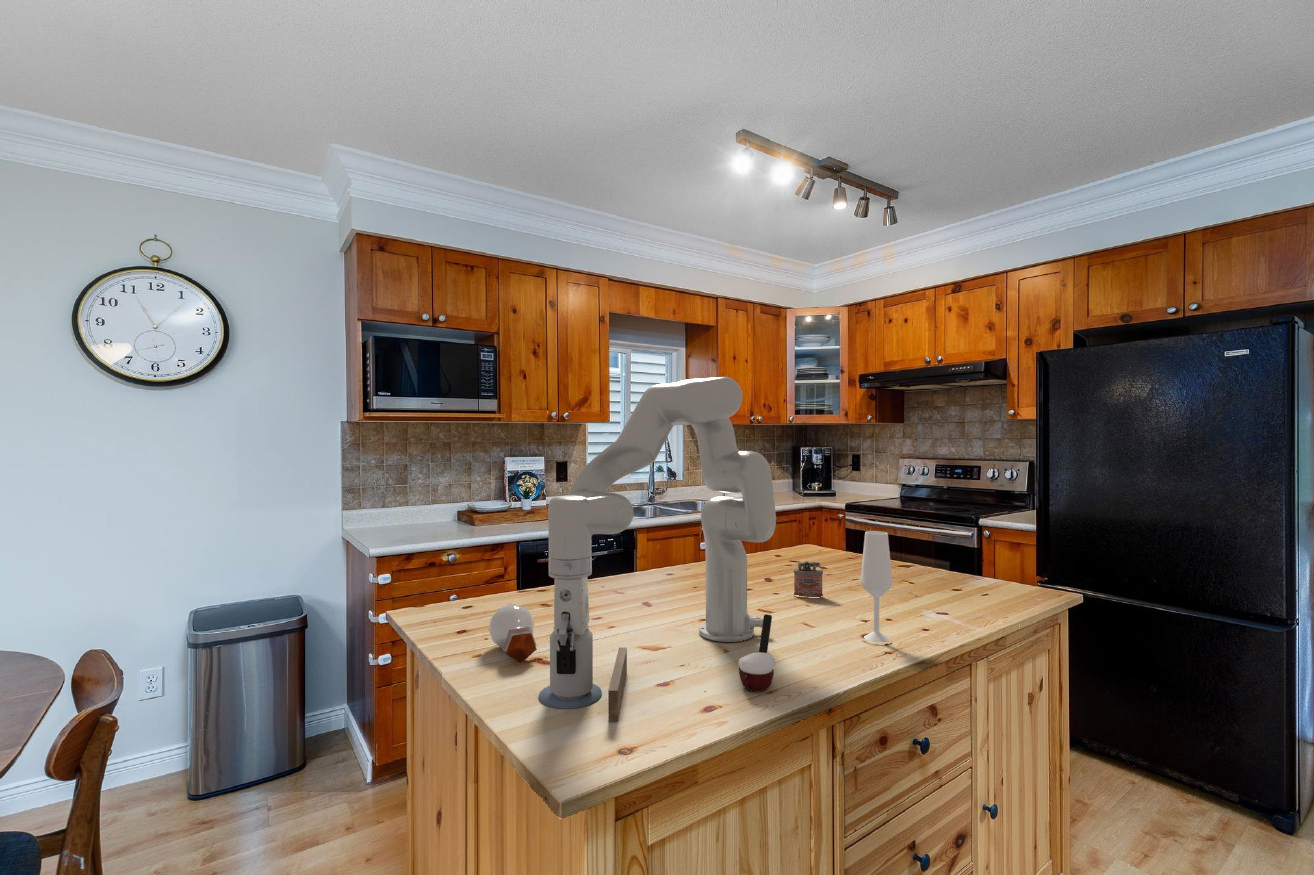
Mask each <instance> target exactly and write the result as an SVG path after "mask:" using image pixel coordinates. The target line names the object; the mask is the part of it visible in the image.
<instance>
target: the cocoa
mask: <svg viewBox="0 0 1314 875" xmlns="http://www.w3.org/2000/svg"><path fill="white" fill-rule="evenodd" d="M762 619H763V625H762V627H761V633H760V640H759V646H758V652H752V653H748V654H747V655H745V656H742V657H740V658H739V659H738V662H737V664H738V676H739V678H740V682H741V684H742V685H743V687H744V688H745V689H747V690H748V689H749V690H748V691H750V690H752V691H751V692H754V691H761V692H764V691H766V690H767V689H769V688H770V687H771V685H772V683H773V678H774V675H775V674H774V673H775V672H774V670H775V669H774V668H775V667H776V661H775V657H773V655H772V654H771V653H768V649H769V642H770V635H771V634H770V633H771V626H772V619H773V616H772V615H771V614H767V613H766V614H764V615H763V617H762Z"/></svg>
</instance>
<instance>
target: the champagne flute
mask: <svg viewBox="0 0 1314 875" xmlns="http://www.w3.org/2000/svg"><path fill="white" fill-rule="evenodd" d="M889 542H890V541H889V534H888V532H886V531H880V530H876V531H875V530H869V531H865V533H864V541H863V552H862V562H861V572H860V573H861V574H860V584H861V585H862V588H864V590H865V591H866V592H867V593H868V594H869V595H870V596H872V597H873V631H872V632H869V633H868V634H866V635H864V638H865V639H866V640H870V641H872V642H889V640H891V639H890V638H889V637H887V636H886V635H884V633H881V631H880V598H881V597H883V596H884V595H885V594H886V593H887V592H889V590H890V589H891V588H892V586H893V584H894V583H893V574H892V564H891V563H892V562H891V553H890V552H891V551H890V543H889Z"/></svg>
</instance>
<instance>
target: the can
mask: <svg viewBox="0 0 1314 875" xmlns="http://www.w3.org/2000/svg"><path fill="white" fill-rule="evenodd" d="M567 632H572V631H567ZM593 636H594V635H593V633H592V631H591V629H590V625H589V623H588V624H587V627H586V629H585V632H584V634H583V635H582V636H579V634H577V635H575V643H574V649H576V672H575V674H557V659H556V650H557V641H558V636H557V635H556V634H555V629H554V626H553V631H552V632H551V634H550V635H549V686H550V691H551V692H552V693H553V694H554V695H555V696H556V697H557V698H560V699H564V700H575V699H579V698H582V697H584V696H586V695H587V694H588V692H590V691H591V690H592V687H593V684H594V682H593V679H594V677H593V670H594V664H593V663H594V661H593V660H594V659H593V658H594V655H593V653H594V652H593V651H594V650H593V649H594V648H593V647H594V646H593V645H594V644H593V642H594V640H593V638H594V637H593ZM567 638H569V640H570V642H571V637H567Z"/></svg>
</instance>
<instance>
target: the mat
mask: <svg viewBox="0 0 1314 875" xmlns="http://www.w3.org/2000/svg"><path fill="white" fill-rule="evenodd" d="M602 692H603V691H602V688H600V686H598V685H597V684H595V683H593V687H592V690H591V691H590V692H588V694H587V695H586V696H584V697H582V698H579V699H575V700H564V699H560V698H557V697H556V696H555V695H554V694H553V693H552V692H551V691H550V685H548V686H546V687H544V688H542V689H541V691H539V694H538V700H539V701H541V702H542V703H541V704H543V705H544V706H546V705H547V707H549V708H553V707H554V709H564V710H566V709H567V710H570V709H578V708H583V707H587V706H590V705H592V704H594V703H596V702H598V701H599V700H600V698H601V697H602V695H603V693H602Z"/></svg>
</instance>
